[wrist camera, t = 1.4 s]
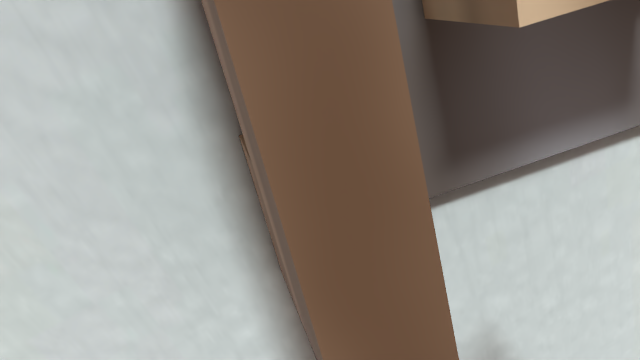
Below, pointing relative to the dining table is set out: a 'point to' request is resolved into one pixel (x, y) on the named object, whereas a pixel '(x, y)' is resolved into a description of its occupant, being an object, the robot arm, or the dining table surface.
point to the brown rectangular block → (338, 172)
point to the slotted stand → (515, 80)
